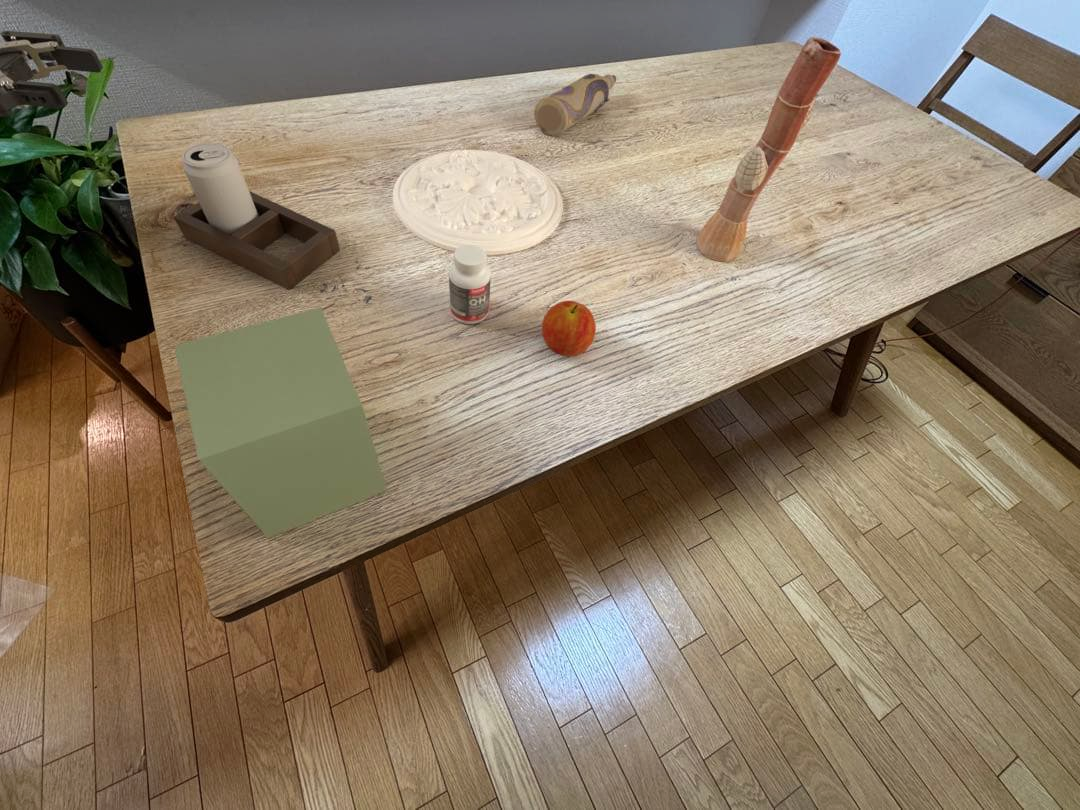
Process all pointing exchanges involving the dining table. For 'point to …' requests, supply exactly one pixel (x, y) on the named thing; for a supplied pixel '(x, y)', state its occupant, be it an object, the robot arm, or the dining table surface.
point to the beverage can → (219, 186)
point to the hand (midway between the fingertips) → (81, 78)
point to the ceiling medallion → (477, 201)
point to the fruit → (568, 328)
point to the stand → (279, 420)
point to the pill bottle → (469, 285)
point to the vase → (768, 150)
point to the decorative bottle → (572, 103)
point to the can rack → (265, 241)
